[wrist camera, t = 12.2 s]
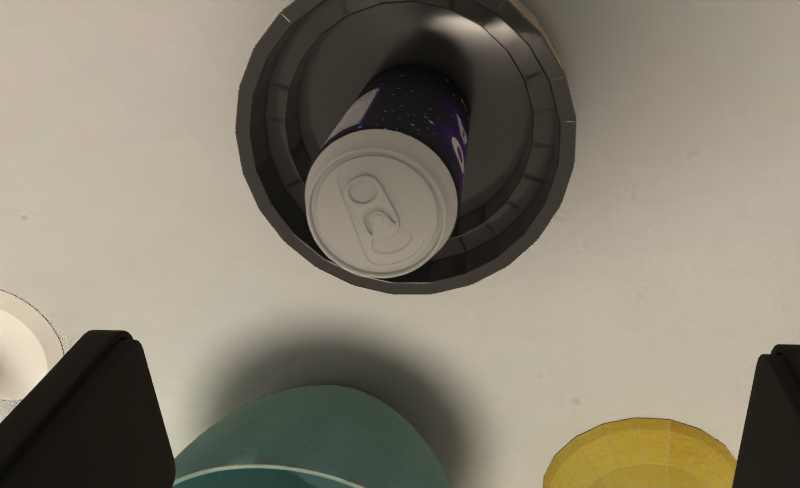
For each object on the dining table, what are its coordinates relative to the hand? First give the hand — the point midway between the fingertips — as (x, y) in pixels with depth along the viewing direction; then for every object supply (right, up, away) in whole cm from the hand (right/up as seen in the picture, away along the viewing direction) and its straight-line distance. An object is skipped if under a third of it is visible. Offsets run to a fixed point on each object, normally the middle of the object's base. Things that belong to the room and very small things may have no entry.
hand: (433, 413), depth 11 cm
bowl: (0, +9, +24) cm, 26 cm away
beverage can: (0, +9, +24) cm, 26 cm away
